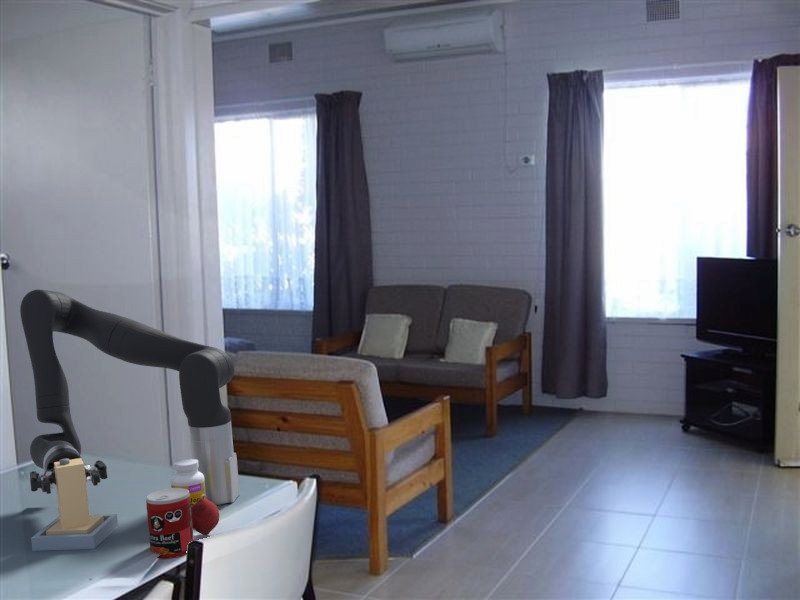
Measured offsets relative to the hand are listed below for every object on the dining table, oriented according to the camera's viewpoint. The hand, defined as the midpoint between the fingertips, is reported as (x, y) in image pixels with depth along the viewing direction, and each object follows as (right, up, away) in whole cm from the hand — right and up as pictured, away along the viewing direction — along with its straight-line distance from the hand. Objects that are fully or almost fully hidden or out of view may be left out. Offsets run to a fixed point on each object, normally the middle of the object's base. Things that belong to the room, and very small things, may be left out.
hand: (72, 484), depth 172 cm
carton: (0, -8, +3) cm, 8 cm away
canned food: (+20, -12, -4) cm, 24 cm away
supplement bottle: (+20, -10, +10) cm, 25 cm away
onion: (+25, -11, +3) cm, 27 cm away
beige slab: (0, -11, +3) cm, 11 cm away
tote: (0, -12, +3) cm, 12 cm away
